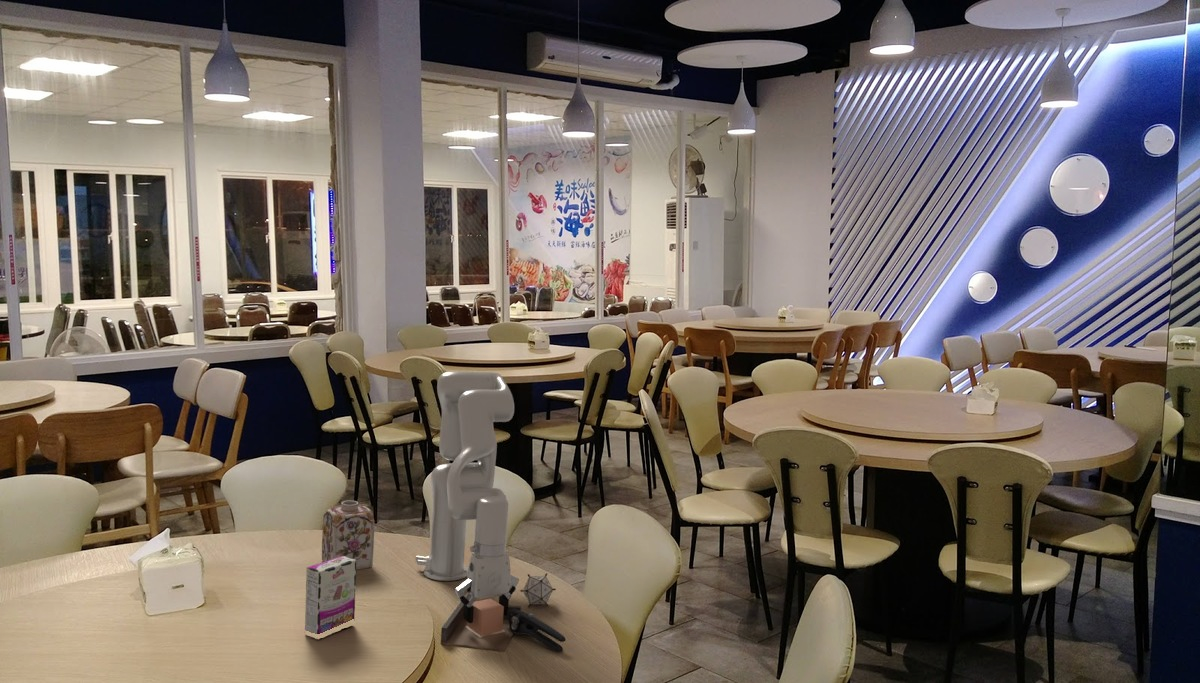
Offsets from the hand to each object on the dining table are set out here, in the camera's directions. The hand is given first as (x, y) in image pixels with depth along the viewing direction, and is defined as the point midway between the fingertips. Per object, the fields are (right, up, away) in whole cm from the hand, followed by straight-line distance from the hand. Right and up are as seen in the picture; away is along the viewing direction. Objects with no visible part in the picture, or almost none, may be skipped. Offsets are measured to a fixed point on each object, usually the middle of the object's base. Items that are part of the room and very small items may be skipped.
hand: (485, 617), depth 215 cm
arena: (-1, -3, -1) cm, 4 cm away
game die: (+11, -3, +19) cm, 22 cm away
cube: (0, -3, 0) cm, 3 cm away
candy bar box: (-36, -2, -6) cm, 37 cm away
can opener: (+12, -5, -3) cm, 13 cm away
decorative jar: (-45, +3, +39) cm, 60 cm away
